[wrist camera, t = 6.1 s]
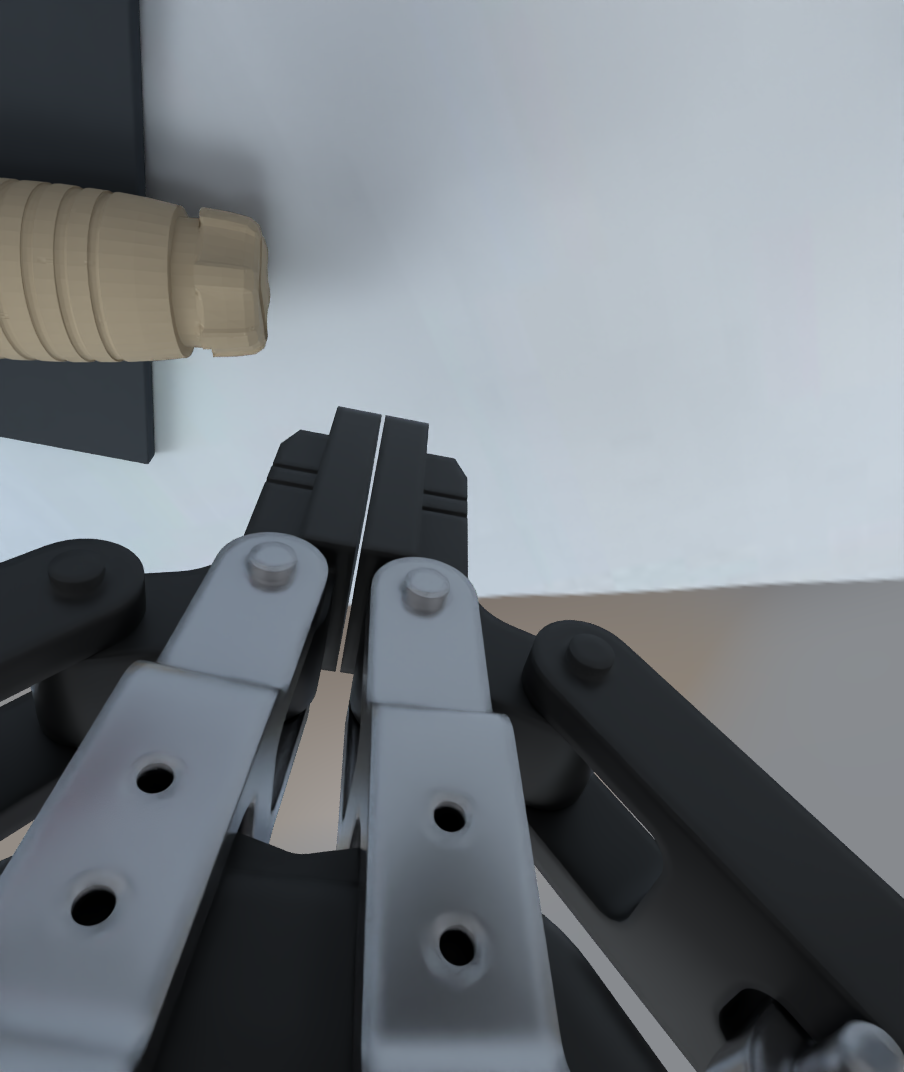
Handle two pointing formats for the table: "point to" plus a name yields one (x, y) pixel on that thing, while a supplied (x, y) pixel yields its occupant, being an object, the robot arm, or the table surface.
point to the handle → (125, 277)
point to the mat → (88, 162)
